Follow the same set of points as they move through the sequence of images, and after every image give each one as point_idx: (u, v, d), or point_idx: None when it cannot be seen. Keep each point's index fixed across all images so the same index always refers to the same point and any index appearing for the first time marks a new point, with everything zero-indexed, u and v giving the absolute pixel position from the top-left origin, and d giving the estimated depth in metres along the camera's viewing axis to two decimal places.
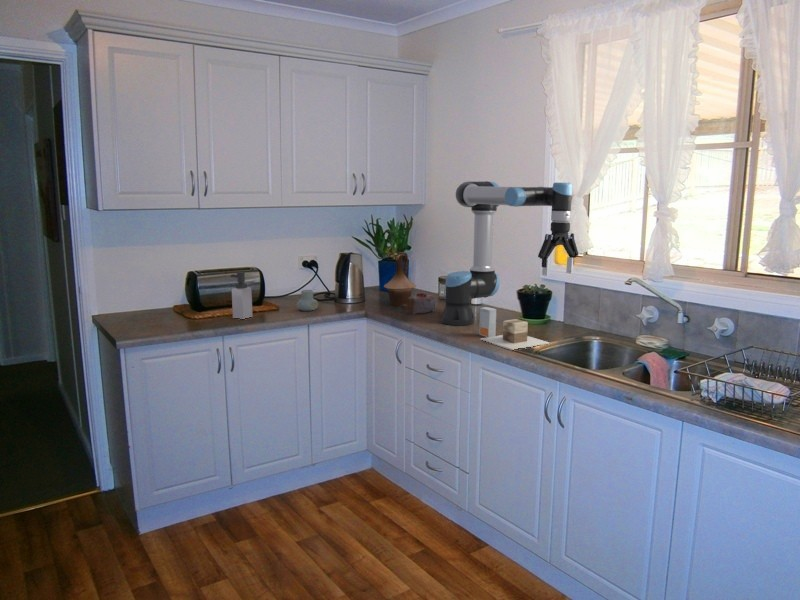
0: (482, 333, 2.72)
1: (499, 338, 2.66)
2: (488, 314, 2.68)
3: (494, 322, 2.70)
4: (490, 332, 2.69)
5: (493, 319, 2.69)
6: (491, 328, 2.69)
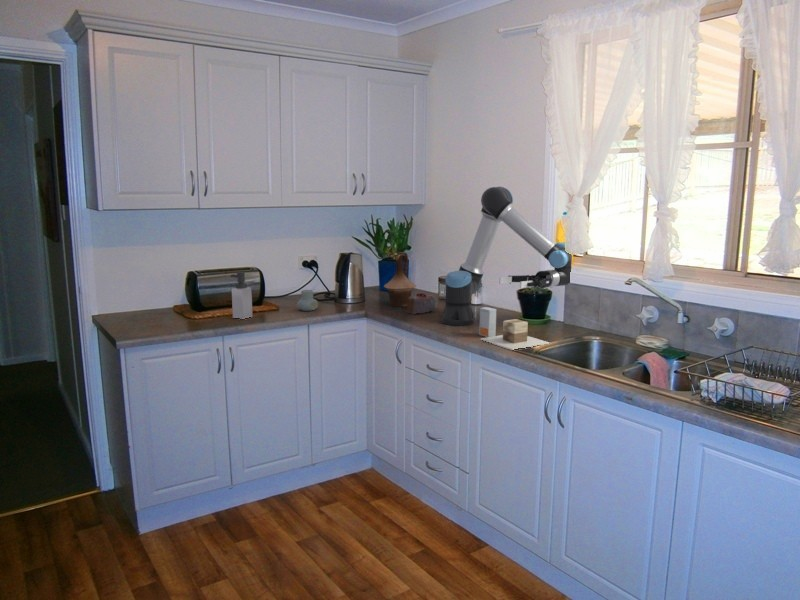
0: (482, 333, 2.72)
1: (499, 338, 2.66)
2: (488, 314, 2.68)
3: (494, 322, 2.70)
4: (490, 332, 2.69)
5: (493, 319, 2.69)
6: (491, 328, 2.69)
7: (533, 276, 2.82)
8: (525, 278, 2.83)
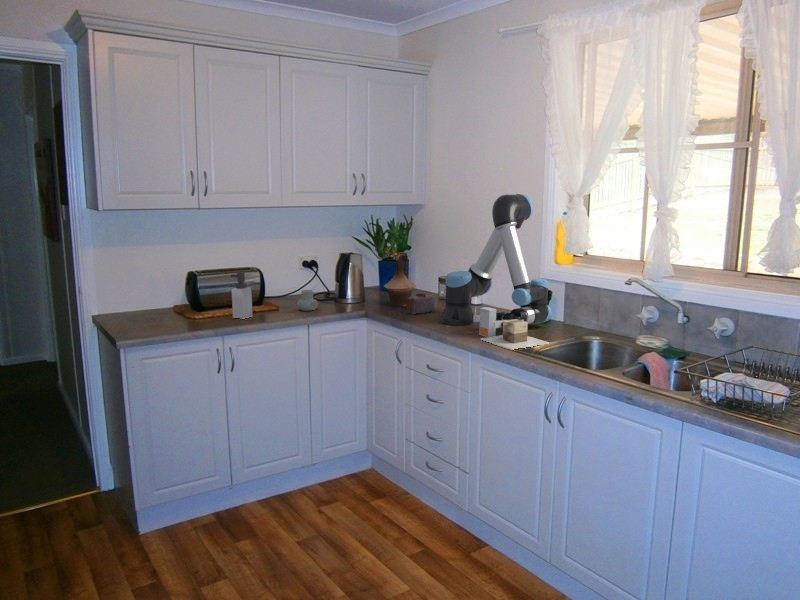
0: (482, 333, 2.72)
1: (499, 338, 2.66)
2: (488, 314, 2.68)
3: None
4: (490, 332, 2.69)
5: (493, 319, 2.69)
6: (491, 328, 2.69)
7: (508, 314, 2.78)
8: (500, 316, 2.79)
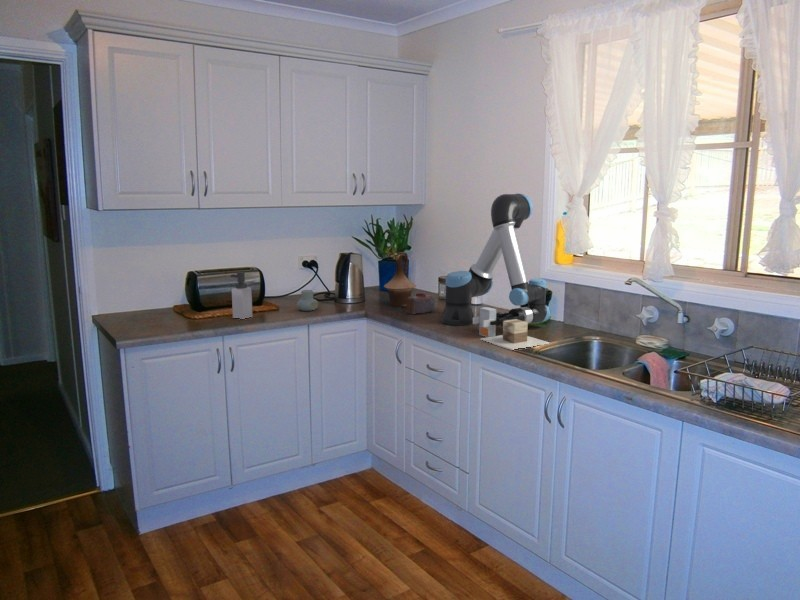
0: (482, 333, 2.72)
1: (499, 338, 2.66)
2: (488, 313, 2.68)
3: None
4: (490, 332, 2.69)
5: None
6: (491, 328, 2.69)
7: (506, 314, 2.78)
8: (499, 316, 2.77)
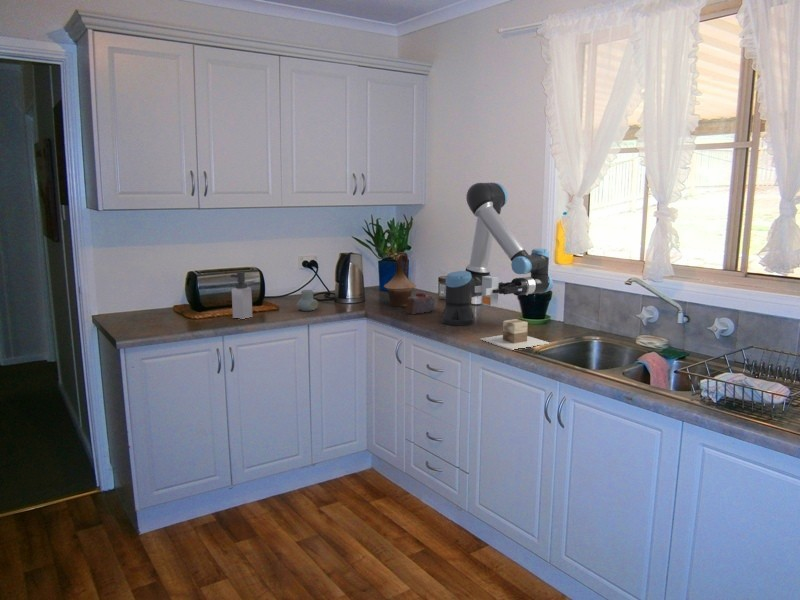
0: (484, 302, 2.69)
1: (499, 338, 2.66)
2: (490, 282, 2.65)
3: None
4: (492, 300, 2.66)
5: None
6: (494, 297, 2.66)
7: (508, 283, 2.75)
8: (501, 286, 2.74)
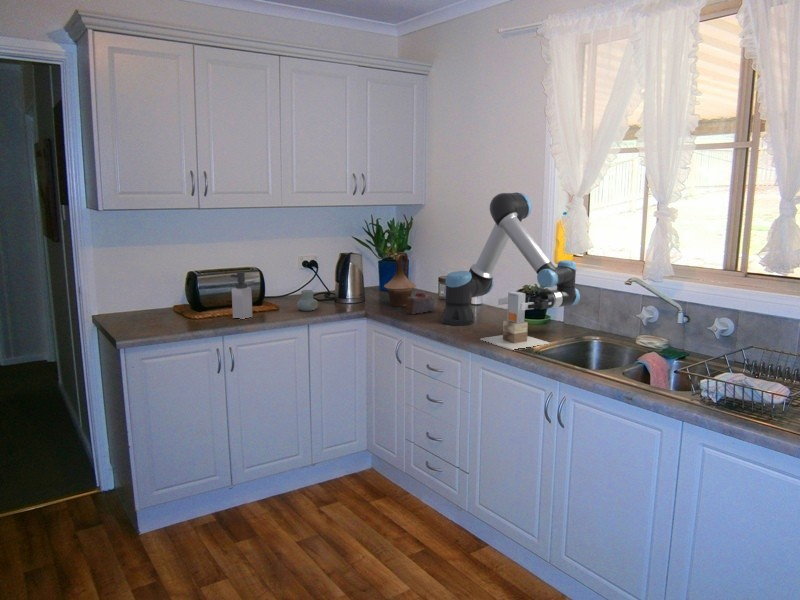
0: (510, 319, 2.60)
1: (499, 338, 2.66)
2: (517, 298, 2.56)
3: None
4: (519, 317, 2.57)
5: None
6: (520, 314, 2.57)
7: (534, 297, 2.66)
8: (526, 299, 2.66)
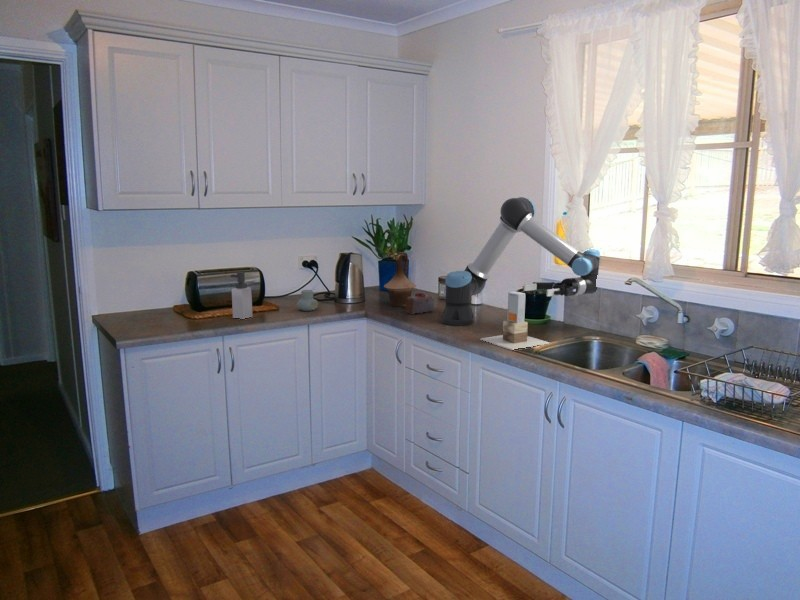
0: (510, 319, 2.60)
1: (499, 338, 2.66)
2: (517, 298, 2.56)
3: (523, 307, 2.58)
4: (519, 317, 2.57)
5: (522, 303, 2.57)
6: (520, 314, 2.57)
7: (559, 283, 2.72)
8: (550, 285, 2.73)
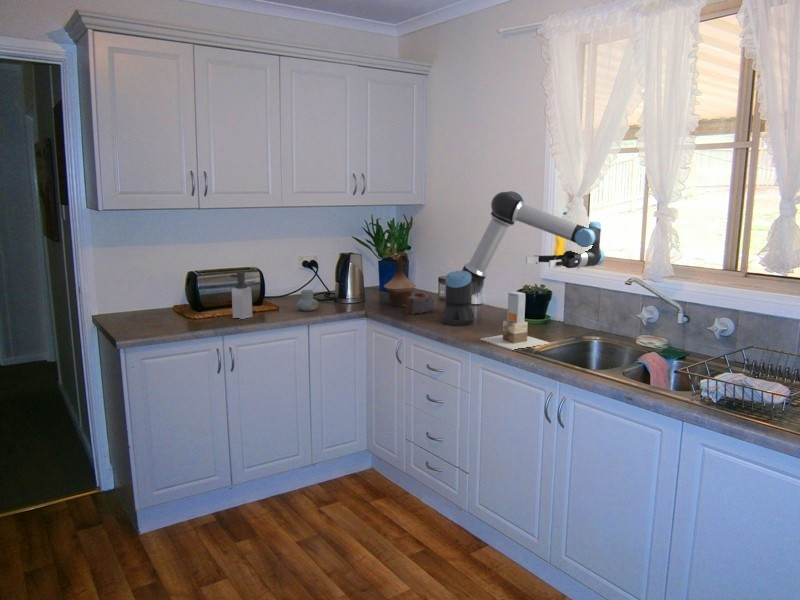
0: (510, 319, 2.60)
1: (499, 338, 2.66)
2: (517, 298, 2.56)
3: (523, 307, 2.58)
4: (519, 317, 2.57)
5: (522, 303, 2.57)
6: (520, 314, 2.57)
7: (561, 256, 2.73)
8: (552, 258, 2.73)
